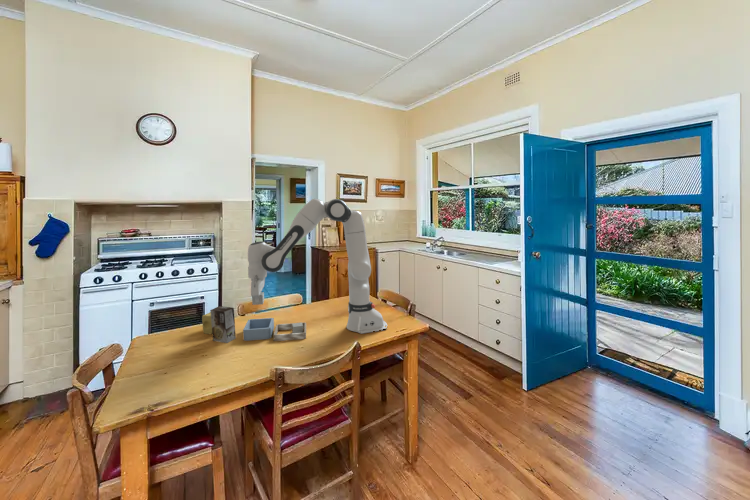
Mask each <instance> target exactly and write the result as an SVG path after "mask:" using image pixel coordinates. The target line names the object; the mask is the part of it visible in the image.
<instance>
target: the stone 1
mask: <svg viewBox="0 0 750 500" xmlns="http://www.w3.org/2000/svg"><path fill="white" fill-rule="evenodd" d="M251 300H252V301H251V303H252V305H253V306H257V305H260V306H261V305H263V304H264V302H265V292H264V291H263V292H261V293H260V295H259V302H255V297H252V296H251Z"/></svg>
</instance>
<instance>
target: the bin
mask: <svg viewBox="0 0 750 500" xmlns="http://www.w3.org/2000/svg"><path fill="white" fill-rule="evenodd" d="M274 328H275V320H274V317H267V318H266V317H264V318H263V317H262V318H251V319H248V320H247V321H246V324H245V325H244V327H243V330H242V331H243V332H242V334H243V341H259V340H269V339H272V338H273V337H272V336H273V334H274V331H275V329H274Z"/></svg>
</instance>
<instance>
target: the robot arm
mask: <svg viewBox="0 0 750 500" xmlns="http://www.w3.org/2000/svg"><path fill="white" fill-rule="evenodd" d="M346 203H347V202H345V201H344V200H342V199H339V198H333V199H331V200H329V201H326V202H324V201H322V200H320V199H318V198H312V199H310V200H309V201H308V202H307V203H306V204H304V206H303V207H302V208H301V209H300V210H299V211H298V213H297V214H296V215H295V216H294V218H293V220H292V222H291V224H290V226H289V228H288V231H287V232H286V234H285V236H284V237H283V238H282V239H281V240H280V242H279V243H277V245H276V247H274V246H272V245H270V244H268V243H266V242H265V241H256V242H252V243H251V244H250V245H249V246H248V247H247V262H248V267H247V268H248V269H247V272H248V274H247V275H248V279H250V281H251V283H250V296H251V298H252V297H255V302H259V295H260V293H261V292H262V291H263V290H264V287H265V283H266V278H267V276H268V273H267V272H270V273H275V272H276V273H277V272H278V271H280V270H281V269H282V267H283V266H284V264H285V261H286V258H287V256H288V254H289V253H290V252H291V251H292V249H293V248H294V247H295V246H296V245H297V243H299V241H301V240H302V239H303V238H304V237H306V236H307V235H308V234H310V233H311V232H312V231H313V230H314V229H315V228H316V227H317V226H318V224H319V223H320V222H321V221H322V220H323V219H325V218H328V219H330V220H331V221H334V222H335V221H336V222H341V223H342V225H343V232H344V238H345V239H344V240H345V248H346V253H347V259H348V263H347V276H348V294H349V295H348V299H349V301H348V305H347V309H348V318H347V324H346V329H347V330H348V331H352V332H356V333H359V334H367V333H374V332H373V331H375V332H380V331H379V330H381V331H384V330H383V329H386V328H387V326H388V324H387V322H386V321H385V320H384V318H383V315H382V313H380V311H378V310H377V309H375V308H376V305H375V303H373V302H372V301H371V300H370V283H369V281H370V280H369V278H370V277H371V274H372V264H371V258H370V254H369V248H368V240H367V235H366V234H367V233H366V232H367V231H366V227H365V221H364V218H363V215H362V212H360V211H359V210H353V209H352V210H351V208H350V207H349V206H348V205H347V204H346ZM385 326H386V327H385ZM387 329H388V328H387ZM387 329H386V330H387Z"/></svg>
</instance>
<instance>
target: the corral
mask: <svg viewBox="0 0 750 500" xmlns="http://www.w3.org/2000/svg"><path fill="white" fill-rule="evenodd" d="M292 323H293V322H292ZM292 323H278V324H276V326H275V327H274V328H275V329H274V331H273V342H281V341H293V340H304V339H307V322H302V324H303V333H282V334H281V333H280V334H278V332H279V331H285V330H287V331H288V330H292Z"/></svg>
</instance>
